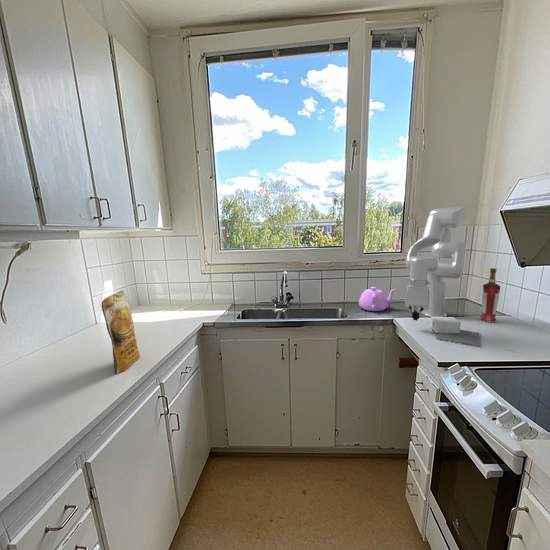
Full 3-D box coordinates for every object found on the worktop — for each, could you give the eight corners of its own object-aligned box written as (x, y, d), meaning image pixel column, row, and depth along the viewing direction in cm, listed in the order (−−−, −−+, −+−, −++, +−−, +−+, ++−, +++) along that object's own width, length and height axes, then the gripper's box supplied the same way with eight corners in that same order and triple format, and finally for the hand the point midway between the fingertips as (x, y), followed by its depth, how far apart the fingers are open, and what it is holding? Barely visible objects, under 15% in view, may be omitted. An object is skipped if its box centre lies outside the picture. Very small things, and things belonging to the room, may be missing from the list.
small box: (435, 332, 135) (460, 333, 132) (436, 321, 134) (461, 322, 132) (429, 327, 142) (453, 328, 140) (430, 316, 142) (454, 317, 139)
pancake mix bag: (102, 376, 102) (92, 300, 97) (129, 353, 120) (122, 288, 116) (121, 376, 102) (112, 299, 97) (145, 353, 120) (138, 288, 116)
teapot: (397, 315, 164) (398, 291, 162) (358, 312, 170) (359, 290, 168) (393, 305, 185) (394, 284, 183) (358, 303, 191) (359, 283, 189)
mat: (440, 327, 143) (440, 326, 143) (479, 333, 134) (479, 332, 134) (436, 339, 128) (436, 338, 128) (479, 347, 119) (479, 345, 119)
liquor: (479, 317, 157) (484, 267, 152) (496, 319, 153) (501, 268, 148) (479, 321, 151) (484, 269, 146) (497, 323, 147) (503, 270, 142)
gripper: (436, 283, 137) (433, 320, 140) (403, 280, 146) (400, 315, 148) (434, 285, 131) (431, 324, 134) (399, 282, 139) (397, 319, 142)
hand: (415, 319), depth 141 cm, fingers closed
